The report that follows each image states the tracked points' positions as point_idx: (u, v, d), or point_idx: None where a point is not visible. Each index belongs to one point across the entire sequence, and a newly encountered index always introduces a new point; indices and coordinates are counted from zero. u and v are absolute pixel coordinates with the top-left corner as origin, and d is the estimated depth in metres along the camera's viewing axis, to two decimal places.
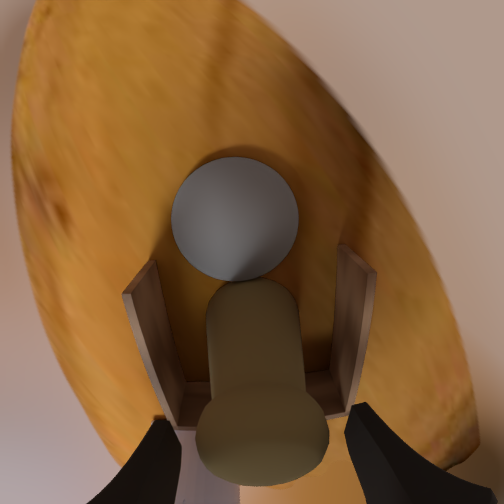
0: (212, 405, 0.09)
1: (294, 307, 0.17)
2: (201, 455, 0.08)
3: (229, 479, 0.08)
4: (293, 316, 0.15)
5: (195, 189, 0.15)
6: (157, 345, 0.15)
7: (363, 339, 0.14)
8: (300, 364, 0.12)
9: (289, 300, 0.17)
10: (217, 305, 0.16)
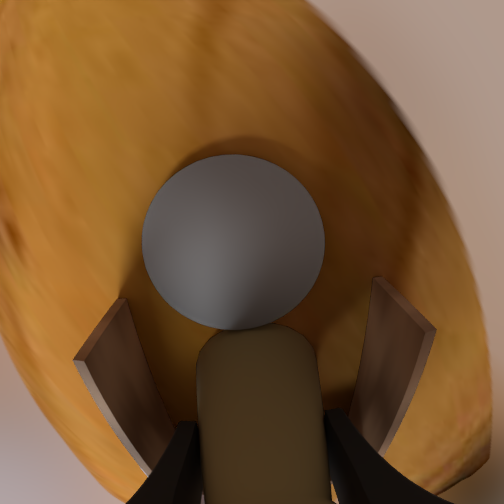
0: None
1: (313, 361, 0.12)
2: None
3: None
4: (313, 378, 0.11)
5: (175, 203, 0.10)
6: (134, 409, 0.10)
7: (404, 406, 0.09)
8: (325, 454, 0.07)
9: (307, 353, 0.12)
10: (210, 363, 0.11)
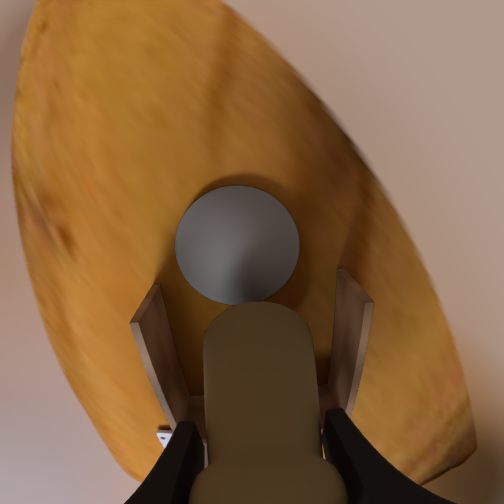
0: (203, 481, 0.06)
1: (307, 335, 0.13)
2: None
3: None
4: (306, 349, 0.12)
5: (198, 217, 0.15)
6: (164, 366, 0.15)
7: (360, 361, 0.14)
8: (315, 415, 0.09)
9: (300, 328, 0.13)
10: (213, 338, 0.13)
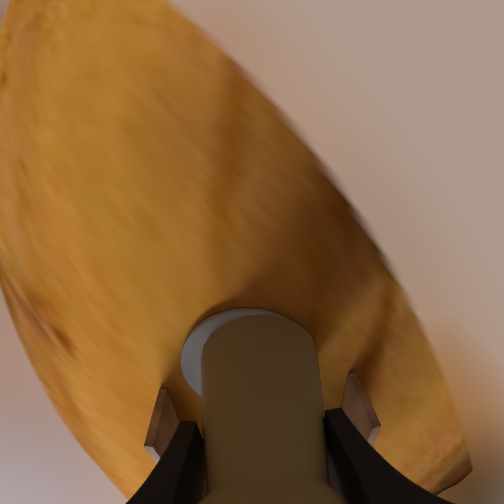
0: None
1: (311, 350, 0.12)
2: None
3: None
4: (311, 366, 0.11)
5: None
6: None
7: None
8: (321, 439, 0.08)
9: (305, 342, 0.12)
10: (211, 355, 0.12)
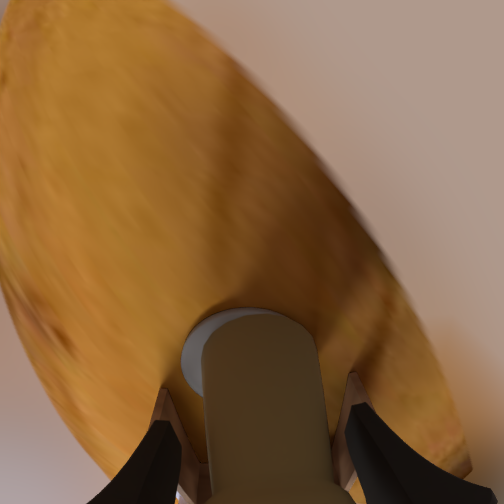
0: None
1: (312, 349, 0.12)
2: None
3: None
4: (312, 364, 0.11)
5: (205, 342, 0.13)
6: None
7: None
8: (325, 437, 0.08)
9: (306, 341, 0.12)
10: (212, 355, 0.12)
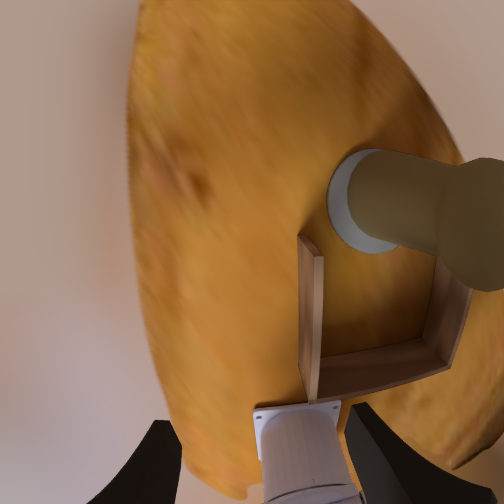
0: (457, 173, 0.08)
1: None
2: (473, 221, 0.07)
3: (495, 259, 0.07)
4: None
5: (352, 171, 0.16)
6: None
7: (470, 294, 0.15)
8: None
9: None
10: (369, 165, 0.15)
